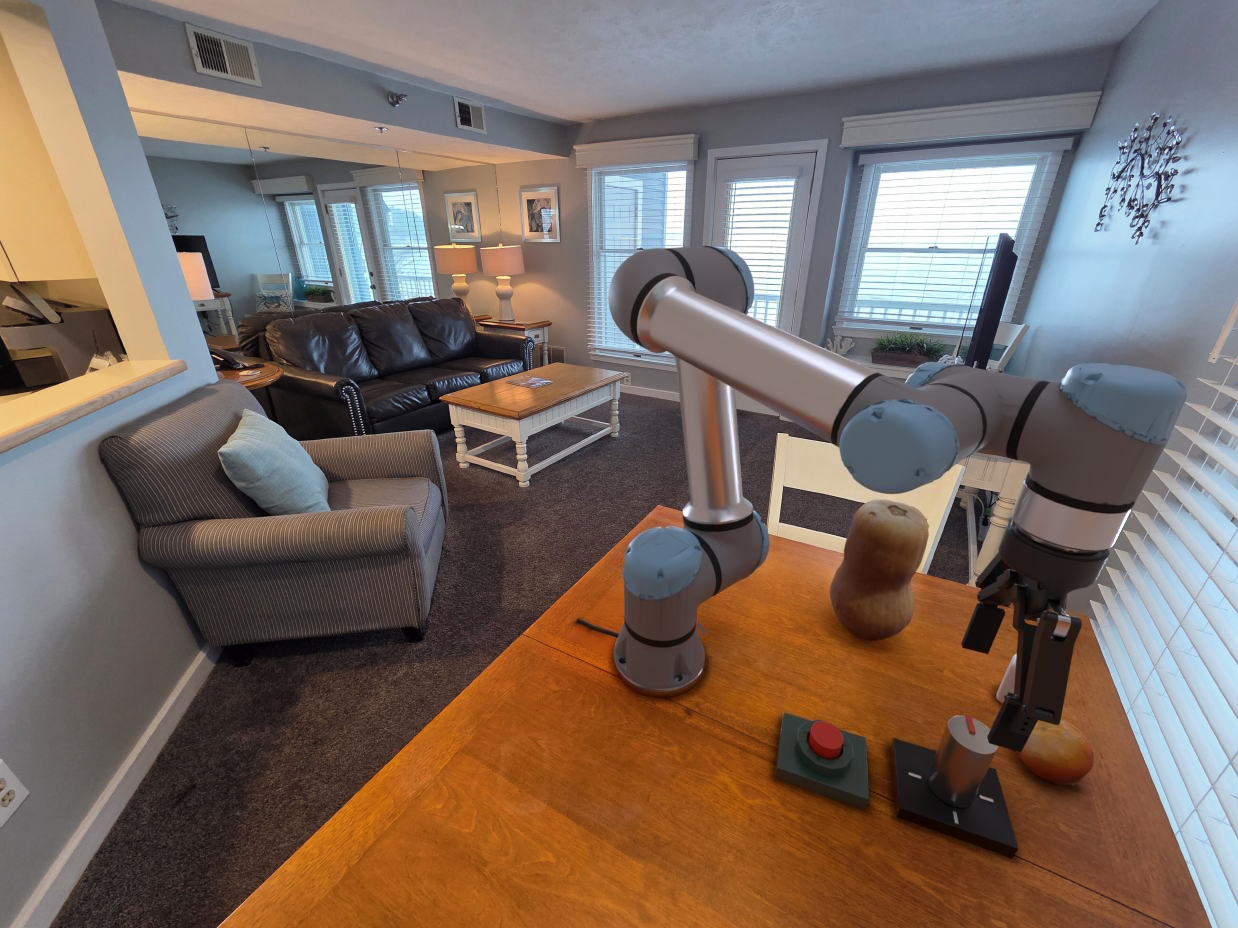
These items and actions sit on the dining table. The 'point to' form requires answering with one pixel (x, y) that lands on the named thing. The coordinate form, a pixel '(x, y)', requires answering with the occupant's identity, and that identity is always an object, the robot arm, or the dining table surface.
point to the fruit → (1058, 753)
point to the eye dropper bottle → (1007, 681)
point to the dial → (961, 761)
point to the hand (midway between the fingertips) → (987, 692)
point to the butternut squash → (879, 569)
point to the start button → (825, 740)
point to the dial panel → (921, 806)
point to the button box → (823, 763)
